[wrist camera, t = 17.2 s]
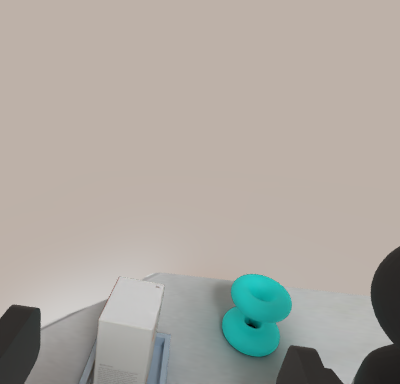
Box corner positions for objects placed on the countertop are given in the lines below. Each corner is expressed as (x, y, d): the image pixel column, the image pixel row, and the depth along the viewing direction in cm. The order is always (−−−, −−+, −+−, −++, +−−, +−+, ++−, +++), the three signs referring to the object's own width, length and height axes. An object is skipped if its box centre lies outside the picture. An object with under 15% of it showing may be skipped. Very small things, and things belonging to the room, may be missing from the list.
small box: (110, 347, 46) (119, 274, 41) (153, 355, 46) (166, 283, 41) (89, 401, 38) (97, 319, 34) (140, 410, 38) (155, 330, 34)
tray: (168, 347, 49) (170, 334, 48) (158, 434, 37) (161, 419, 36) (100, 337, 48) (101, 324, 47) (68, 423, 36) (69, 408, 35)
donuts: (245, 263, 57) (299, 288, 53) (233, 306, 60) (283, 332, 56) (223, 290, 48) (285, 322, 44) (210, 339, 52) (267, 372, 48)
